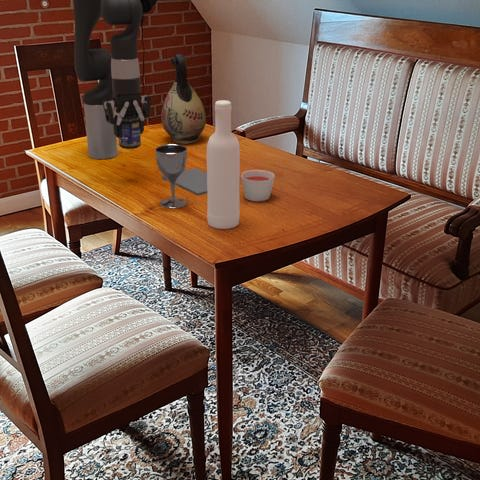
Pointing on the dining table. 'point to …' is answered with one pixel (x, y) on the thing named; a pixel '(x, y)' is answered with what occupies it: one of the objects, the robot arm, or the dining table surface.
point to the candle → (257, 184)
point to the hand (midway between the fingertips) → (129, 135)
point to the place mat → (192, 181)
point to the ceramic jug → (182, 108)
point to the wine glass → (172, 169)
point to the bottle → (223, 171)
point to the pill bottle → (130, 130)
